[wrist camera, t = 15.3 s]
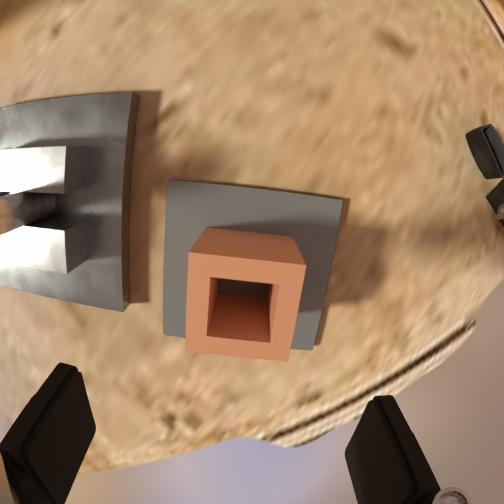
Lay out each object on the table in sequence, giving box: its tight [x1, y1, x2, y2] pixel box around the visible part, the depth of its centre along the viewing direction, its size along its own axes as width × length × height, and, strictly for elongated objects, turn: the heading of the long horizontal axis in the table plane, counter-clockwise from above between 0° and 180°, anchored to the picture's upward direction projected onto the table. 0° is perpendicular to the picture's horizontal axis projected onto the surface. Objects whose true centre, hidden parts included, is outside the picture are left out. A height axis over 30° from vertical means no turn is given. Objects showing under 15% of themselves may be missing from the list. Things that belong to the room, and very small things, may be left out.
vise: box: [0, 92, 139, 312], centre depth 16 cm, size 16×14×12 cm
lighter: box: [466, 124, 504, 227], centre depth 19 cm, size 9×2×6 cm
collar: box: [185, 227, 306, 361], centre depth 20 cm, size 6×6×6 cm
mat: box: [163, 180, 343, 350], centre depth 23 cm, size 12×12×1 cm
